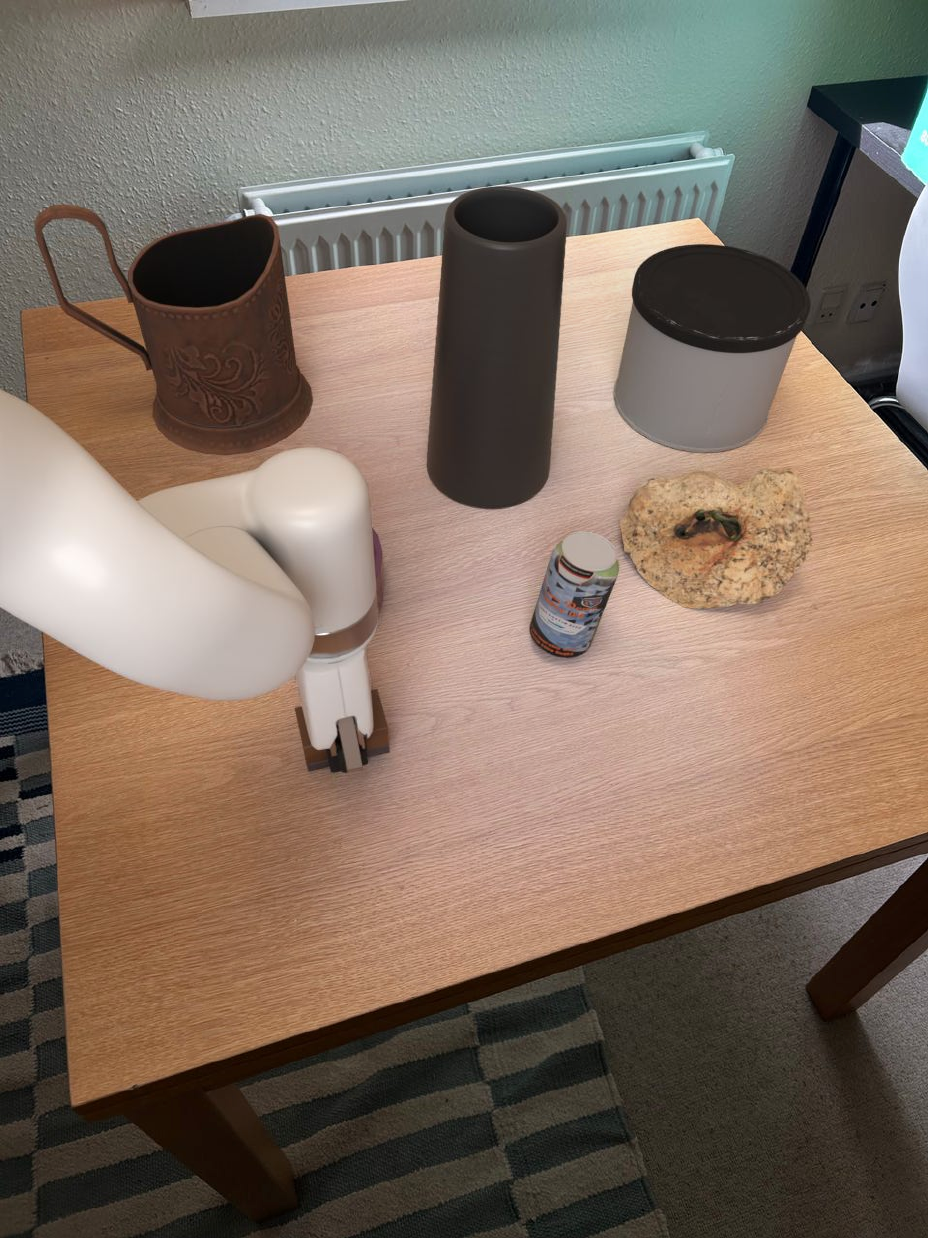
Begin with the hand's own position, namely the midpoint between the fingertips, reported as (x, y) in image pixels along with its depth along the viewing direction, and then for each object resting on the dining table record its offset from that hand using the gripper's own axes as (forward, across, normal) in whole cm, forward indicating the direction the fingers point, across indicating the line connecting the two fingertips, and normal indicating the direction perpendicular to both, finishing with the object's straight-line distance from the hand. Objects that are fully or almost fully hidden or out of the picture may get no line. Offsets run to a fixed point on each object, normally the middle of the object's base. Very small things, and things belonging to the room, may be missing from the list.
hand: (342, 741), depth 78 cm
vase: (+1, -31, +23) cm, 39 cm away
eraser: (0, 0, 0) cm, 0 cm away
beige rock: (+1, -11, +40) cm, 41 cm away
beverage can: (+1, -6, +23) cm, 24 cm away
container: (+1, -36, +50) cm, 61 cm away
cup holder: (+1, -49, -6) cm, 49 cm away
